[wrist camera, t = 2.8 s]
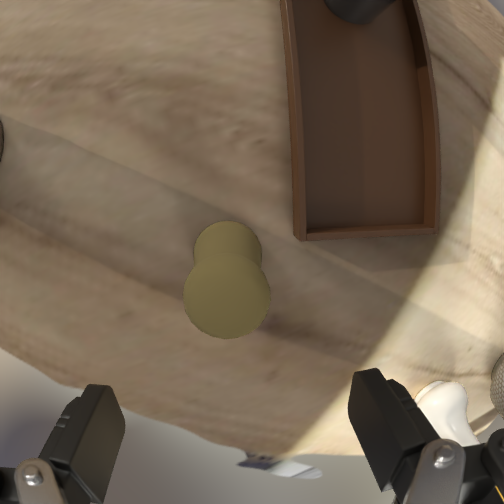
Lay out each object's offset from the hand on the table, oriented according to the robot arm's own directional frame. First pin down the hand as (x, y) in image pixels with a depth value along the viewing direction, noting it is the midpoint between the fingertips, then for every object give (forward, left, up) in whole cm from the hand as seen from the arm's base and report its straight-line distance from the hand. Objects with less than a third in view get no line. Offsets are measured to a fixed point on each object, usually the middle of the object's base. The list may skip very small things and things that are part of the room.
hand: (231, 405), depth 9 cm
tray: (+13, +18, -19) cm, 29 cm away
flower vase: (+27, -24, -19) cm, 41 cm away
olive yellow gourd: (0, 0, -19) cm, 19 cm away
